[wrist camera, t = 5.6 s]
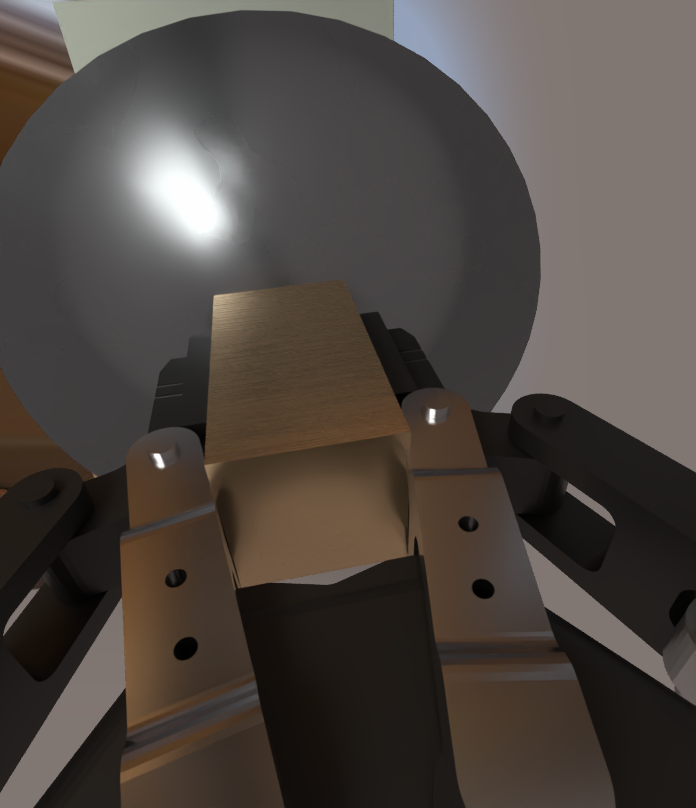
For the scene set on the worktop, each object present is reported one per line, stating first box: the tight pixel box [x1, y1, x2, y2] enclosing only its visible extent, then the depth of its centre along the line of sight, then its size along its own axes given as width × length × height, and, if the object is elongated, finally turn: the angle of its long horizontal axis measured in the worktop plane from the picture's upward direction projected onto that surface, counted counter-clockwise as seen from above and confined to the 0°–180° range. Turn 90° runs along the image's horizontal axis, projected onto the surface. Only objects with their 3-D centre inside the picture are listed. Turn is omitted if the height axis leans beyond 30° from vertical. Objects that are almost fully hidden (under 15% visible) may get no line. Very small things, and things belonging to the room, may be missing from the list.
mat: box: [53, 0, 394, 73], centre depth 29 cm, size 16×16×1 cm
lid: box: [0, 10, 540, 588], centre depth 12 cm, size 14×14×7 cm
